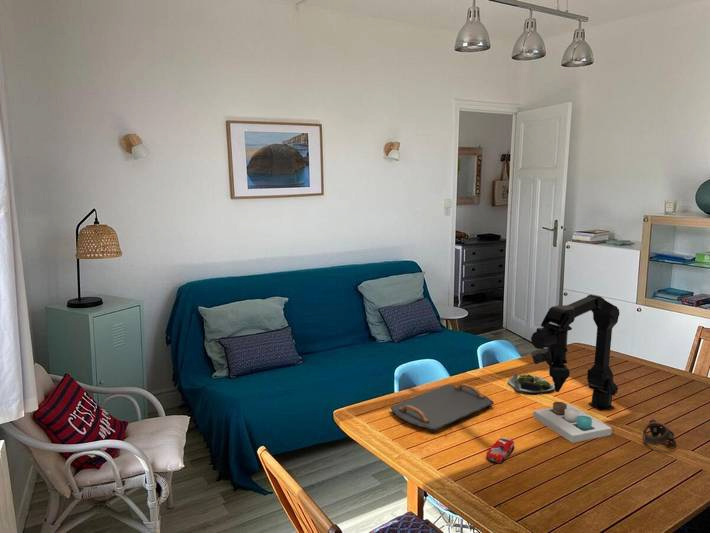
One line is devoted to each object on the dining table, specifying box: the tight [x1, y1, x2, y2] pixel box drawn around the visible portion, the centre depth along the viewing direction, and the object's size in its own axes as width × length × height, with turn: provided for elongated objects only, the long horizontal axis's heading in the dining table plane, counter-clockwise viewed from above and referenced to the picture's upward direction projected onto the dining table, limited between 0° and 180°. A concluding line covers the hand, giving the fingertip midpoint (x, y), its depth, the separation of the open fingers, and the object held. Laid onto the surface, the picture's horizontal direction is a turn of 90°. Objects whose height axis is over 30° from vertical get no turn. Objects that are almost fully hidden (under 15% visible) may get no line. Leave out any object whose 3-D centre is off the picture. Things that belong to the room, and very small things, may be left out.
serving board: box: [390, 383, 495, 434], centre depth 198 cm, size 39×23×6 cm, turn 130°
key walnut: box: [552, 401, 568, 416], centre depth 190 cm, size 5×5×3 cm
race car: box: [486, 437, 515, 464], centre depth 167 cm, size 13×5×4 cm, turn 141°
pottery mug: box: [642, 418, 677, 448], centre depth 173 cm, size 12×10×8 cm
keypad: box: [532, 403, 613, 444], centre depth 185 cm, size 16×20×2 cm
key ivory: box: [564, 408, 579, 423], centre depth 185 cm, size 5×5×3 cm
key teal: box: [576, 416, 592, 431], centre depth 179 cm, size 5×5×3 cm
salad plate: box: [507, 373, 555, 396], centre depth 221 cm, size 19×18×5 cm
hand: (555, 386), depth 185 cm, fingers open, 9 cm apart
